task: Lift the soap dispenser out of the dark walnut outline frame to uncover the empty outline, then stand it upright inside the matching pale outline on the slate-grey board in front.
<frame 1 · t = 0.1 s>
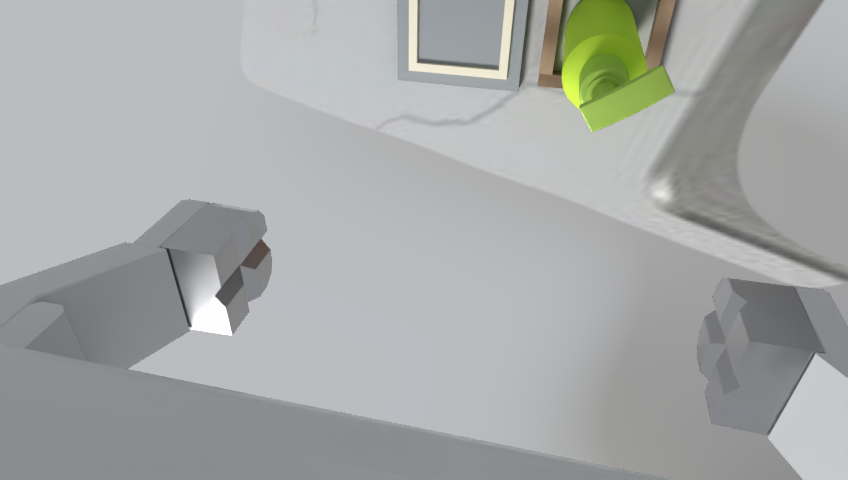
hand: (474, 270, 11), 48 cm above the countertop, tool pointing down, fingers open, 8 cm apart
walnut template frame: (605, 25, 52), on the countertop
soap dispenser: (605, 24, 52), resting in walnut template frame
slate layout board: (462, 14, 54), on the countertop
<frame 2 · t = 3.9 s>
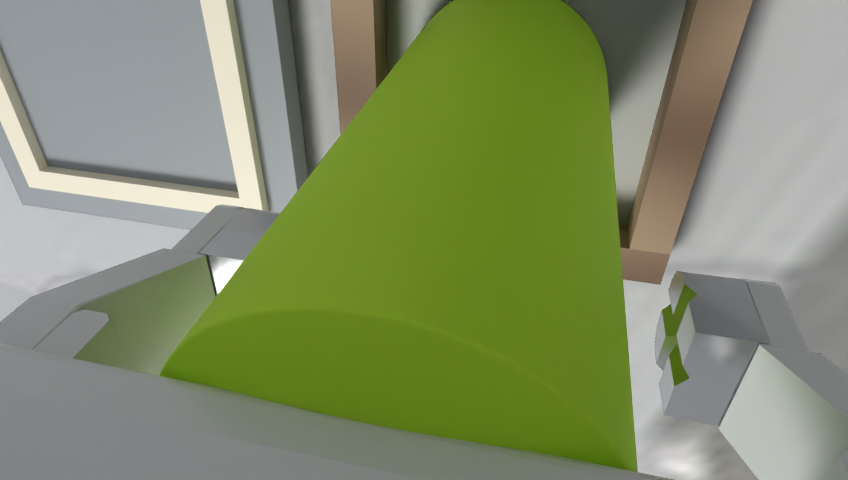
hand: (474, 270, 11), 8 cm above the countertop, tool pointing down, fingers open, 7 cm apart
walnut template frame: (519, 82, 17), on the countertop
soap dispenser: (519, 79, 17), resting in walnut template frame, touching arm, gripper
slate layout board: (125, 45, 19), on the countertop
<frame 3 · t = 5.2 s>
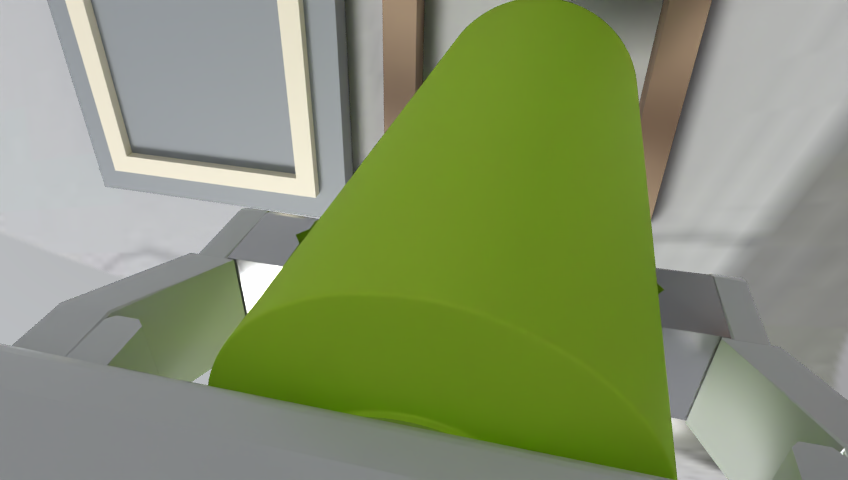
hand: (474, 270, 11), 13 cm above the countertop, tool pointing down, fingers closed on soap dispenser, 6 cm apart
walnut template frame: (528, 82, 21), on the countertop
soap dispenser: (550, 90, 18), point 4 cm above the countertop, touching gripper
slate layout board: (207, 52, 24), on the countertop
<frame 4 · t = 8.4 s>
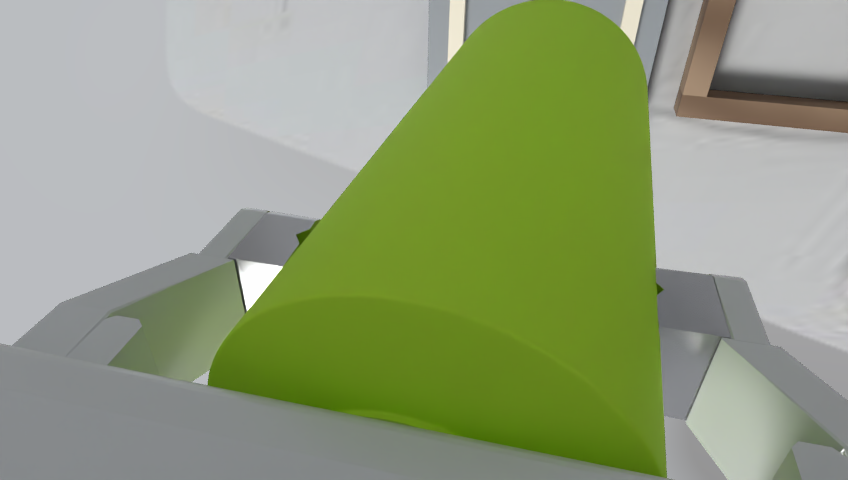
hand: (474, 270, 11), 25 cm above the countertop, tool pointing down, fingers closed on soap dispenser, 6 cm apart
walnut template frame: (817, 6, 28), on the countertop
soap dispenser: (559, 91, 17), point 16 cm above the countertop, touching gripper
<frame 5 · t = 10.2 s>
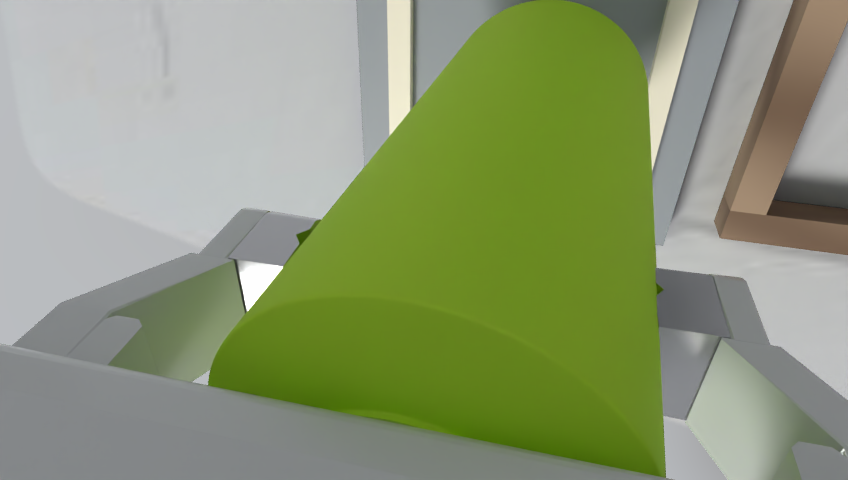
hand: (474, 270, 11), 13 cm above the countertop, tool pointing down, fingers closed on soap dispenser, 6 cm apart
soap dispenser: (560, 91, 17), point 4 cm above the countertop, touching gripper
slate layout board: (529, 56, 21), on the countertop
when the fingers open (11 cm above the countertop, at t = 11.7 s): soap dispenser moves 2 cm, resting on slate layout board.
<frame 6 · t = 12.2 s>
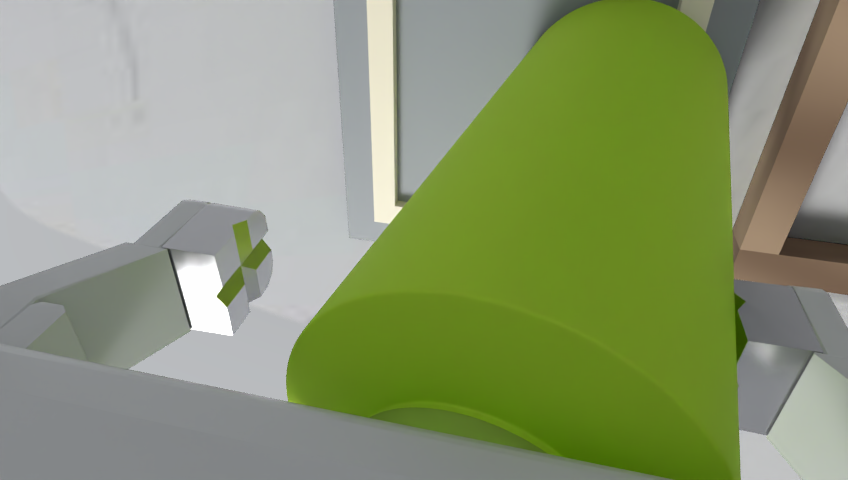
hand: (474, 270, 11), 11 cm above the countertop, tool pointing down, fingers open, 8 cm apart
soap dispenser: (634, 92, 17), point 1 cm above the countertop, touching gripper, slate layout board
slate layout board: (522, 83, 19), on the countertop
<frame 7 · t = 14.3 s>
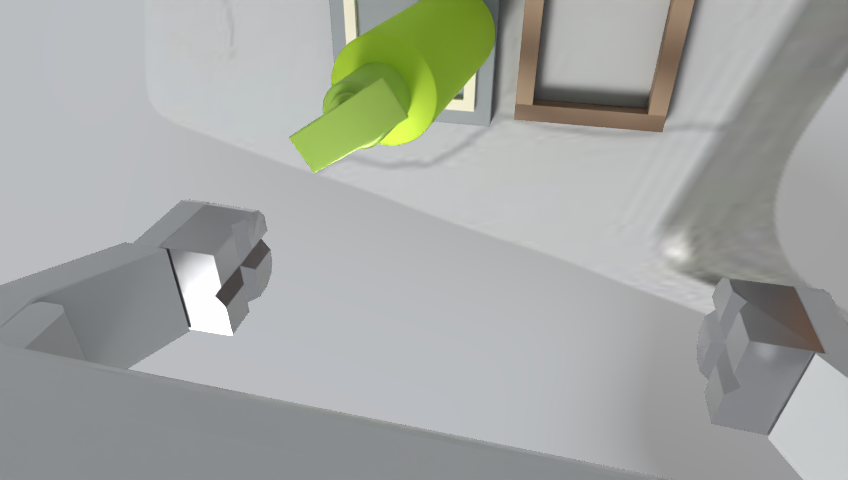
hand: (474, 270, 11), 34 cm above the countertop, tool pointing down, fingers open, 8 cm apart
walnut template frame: (599, 40, 40), on the countertop
soap dispenser: (460, 28, 40), point 1 cm above the countertop, touching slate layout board
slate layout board: (414, 29, 42), on the countertop
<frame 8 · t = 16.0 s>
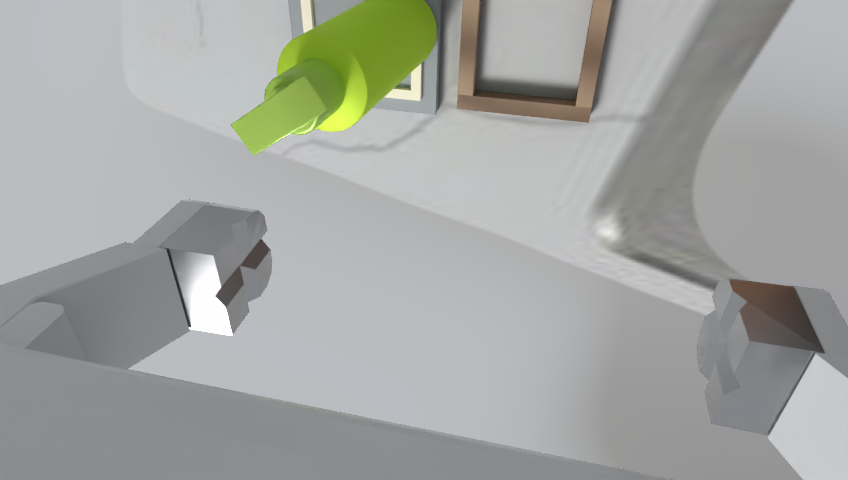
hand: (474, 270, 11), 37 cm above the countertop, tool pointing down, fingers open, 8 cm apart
walnut template frame: (531, 38, 44), on the countertop
soap dispenser: (406, 24, 44), point 1 cm above the countertop, touching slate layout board
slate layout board: (366, 24, 46), on the countertop
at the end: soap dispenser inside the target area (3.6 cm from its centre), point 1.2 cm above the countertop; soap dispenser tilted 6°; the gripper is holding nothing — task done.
